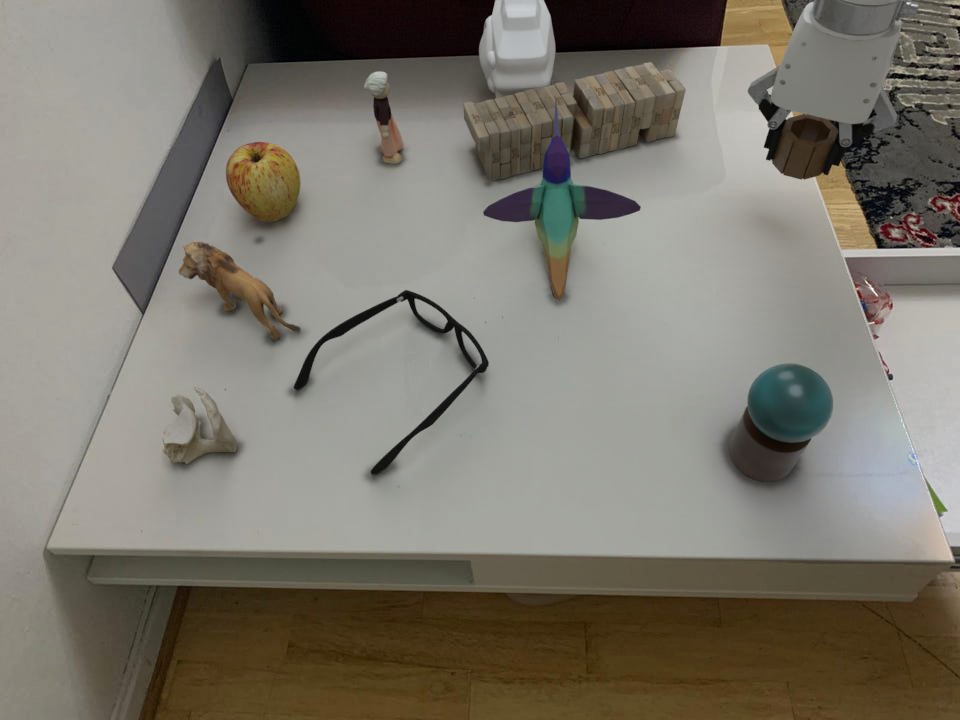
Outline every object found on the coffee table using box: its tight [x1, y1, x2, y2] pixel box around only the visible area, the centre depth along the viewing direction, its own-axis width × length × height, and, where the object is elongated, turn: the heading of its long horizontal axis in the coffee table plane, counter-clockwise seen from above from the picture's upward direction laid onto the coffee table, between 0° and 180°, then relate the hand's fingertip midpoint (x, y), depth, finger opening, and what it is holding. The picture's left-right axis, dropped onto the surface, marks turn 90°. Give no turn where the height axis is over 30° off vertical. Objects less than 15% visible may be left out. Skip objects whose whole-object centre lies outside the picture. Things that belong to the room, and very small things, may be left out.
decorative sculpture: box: [482, 98, 642, 301], centre depth 86 cm, size 17×18×15 cm
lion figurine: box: [178, 241, 302, 341], centre depth 84 cm, size 15×5×9 cm, turn 62°
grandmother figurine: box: [363, 71, 404, 165], centre depth 99 cm, size 8×4×13 cm, turn 22°
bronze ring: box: [771, 113, 839, 181], centre depth 82 cm, size 6×6×4 cm
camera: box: [478, 0, 556, 98], centre depth 104 cm, size 11×18×16 cm, turn 0°
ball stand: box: [728, 362, 834, 483], centre depth 68 cm, size 7×7×13 cm
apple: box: [225, 141, 301, 222], centre depth 94 cm, size 9×9×10 cm
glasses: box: [293, 289, 490, 476], centre depth 79 cm, size 17×18×5 cm
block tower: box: [463, 61, 687, 181], centre depth 100 cm, size 8×8×29 cm
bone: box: [162, 386, 238, 465], centre depth 75 cm, size 9×6×10 cm
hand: (799, 159), depth 83 cm, fingers closed on bronze ring, 5 cm apart
